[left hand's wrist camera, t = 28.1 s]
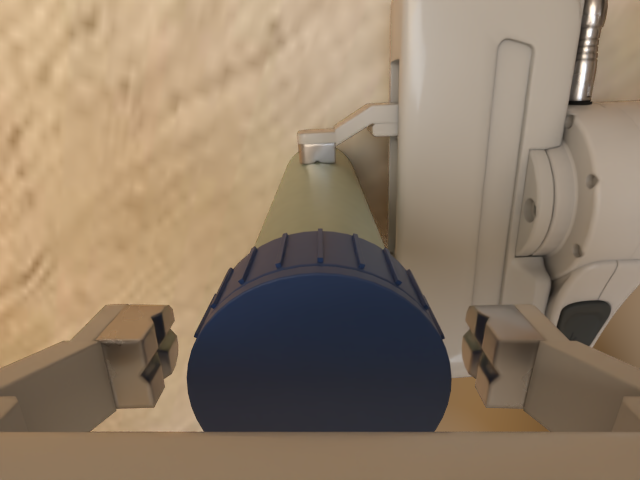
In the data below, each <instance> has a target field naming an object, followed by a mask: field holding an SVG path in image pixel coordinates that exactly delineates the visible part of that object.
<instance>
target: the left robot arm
mask: <svg viewBox="0 0 640 480" xmlns="http://www.w3.org/2000/svg"><path fill="white" fill-rule="evenodd" d="M174 321H175V320H174V314H173V309H172V308H171V307H170V306H169V305H136V304H130V305H129V304H110V305H105V306H104V307H103V308H102V309H101V310H100V311H99V312H98V313H97V314H96V315H95V316H94V317H93V318H92V319H91V320H90V321H89V322H88V323H87V324H86V325H85V326H84V327H83V328H82V329H81V330H80V331H79V332H78V333H77V334H76V335H75V336H74V337H73V338H72V339H71V341H62V342H60V343H57V344H55V345H53V346H51V347H48V348H46V349H44V350H41V351H39V352H37V353H35V354H32V355H30V356H28V357H25V358H23V359H21V360H19V361H16V362H14V363H12V364H9V365H7V366H5V367H3V368H0V480H640V369H639V368H637V367H635V366H633V365H630V364H628V363H626V362H623V361H621V360H619V359H617V358H614V357H612V356H610V355H608V354H605V353H603V352H601V351H598V350H596V349H594V348H592V347H589V346H587V345H585V344H582V343H580V342H578V341H569V340H568V339H567V338H566V336H565V335H564V334H563V333H562V332H561V331H560V330H559V329H558V328H557V327H556V326H555V325H554V324H553V323H552V322H551V321H550V320H549V319H548V318H547V317H546V316H545V315H544V314H543V313H542V312H541V311H540V310H539V309H538V308H537V307H536V306H534V305H532V304H515V305H513V304H512V305H473V306H469V308H468V310H467V313H466V319H465V321H466V323H467V324H468V326H469V328H470V329H469V330H468V331H467V332H466V333H465V334H464V335H463V340H462V359H463V362H464V366H465V368H466V370H467V372H468V374H469V375H471V376H472V377H474V378H475V379H476V384H475V388H476V390H477V391H478V393H479V395H480V397H481V399H482V401H483V403H484V405H485V407H486V408H520V409H524V411H525V412H526V413H527V414H529V415H530V416H531V417H532V418H534V419H535V420H536V421H538V422H539V423H540V424H541V425H543V426H544V427H545V428H546V429H548V430H549V431H550V432H90V431H91V430H92V429H94V428H95V427H96V426H98V425H99V424H100V423H101V422H103V421H104V420H105V419H106V418H108V417H109V416H110V415H111V414H113V413H114V412H115V411H116V409H121V408H154V407H155V405H156V403H157V401H158V399H159V397H160V395H161V393H162V391H163V389H164V388H165V384H164V379H165V378H166V377H168V376H169V375H171V374H172V372H173V370H174V368H175V366H176V362H177V357H178V339H177V335H176V334H175V333H174V332H173V331H172V330H171V329H170V328H171V326H172V324H173V323H174Z"/></svg>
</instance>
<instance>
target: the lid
mask: <svg viewBox="0 0 640 480" xmlns="http://www.w3.org/2000/svg"><path fill="white" fill-rule="evenodd" d="M194 337H195V338H197V339H196V341H195V343H194V346H193V348H192V350H191V354H190V358H189V362H188V370H187V386H188V395H189V399H190V403H191V407H192V409H193V412H194V414H195V416H196V419H197V421H198V422H199V424H200V426H201V427H202V429H203V431H204V432H434V431H435V430H436V428H437V427H438V425H439V423H440V421H441V420H442V418H443V415H444V413H445V410H446V408H447V405H448V401H449V396H450V392H451V378H452V375H451V366H450V360H449V357H448V353H447V350H446V347H445V345H444V343H443V339H445V337H444V334H443V332H442V330H441V328H440V326H439V324H438V322H437V320H436V318H435V316H434V314H433V312H432V310H431V308H430V306H429V304H428V302H427V300H426V298H425V296H424V295H423V294H422V292H421V290H420V288H419V286H418V284H417V282H416V280H415V278H414V276H413V274H412V272H411V270H410V269H408V270H406V269H405V268H404V267H403V266H402V265H401V264H400V263H399V261H398V260H396V259H395V258H394V257H393V256H392V255H391V254H390V252H389V250H388V249H387V248H384V249H382V248H380V247H378V246H377V245H375V244H373V243H371V242H369V241H366V240H364V239H362V238H359V237H358V234H355V233H353V236H352V235H349V234H344V233H338V232H332V231H323V229H322V228H318V231H308V232H300V233H295V234H290V235H288V234H287V233H284V234H283V235H282V237H280V238H277V239H274V240H272V241H270V242H268V243H266V244H264V245H262V246H260V247H259V248H256V247H253V248H252V249H251V251H250V253H249V254H248V255H247V256H246V257H245V258H244V259H243V260H241V261H240V262H239V263H238V264H237V265H236V267H235V268H234V269H232V268H230V269H229V270H228V272H227V274H226V276H225V278H224V280H223V282H222V284H221V286H220V288H219V290H218V292H217V294H215V295H214V297H213V299H212V301H211V303H210V305H209V307H208V309H207V311H206V313H205V315H204V317H203V319H202V321H201V323H200V325H199V327H198V329H197V330H196V332H195V335H194Z"/></svg>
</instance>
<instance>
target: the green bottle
mask: <svg viewBox="0 0 640 480" xmlns="http://www.w3.org/2000/svg"><path fill="white" fill-rule="evenodd" d="M335 151H336V163H328V164H324V163H320V162H318V161H316V162H315V163H314V164H307V165H306V164H300V162H299V152H298V153H297V154H295V155H294V157H293V158H292V159H291V160H290V162H289V164H288V166H287V168H286V171H285V173H284V175H283V178H282V180H281V183H280V185H279V188H278V190H277V192H276V195H275V197H274V200H273V202H272V205H271V207H270V210H269V212H268V214H267V217H266V219H265V222H264V224H263V227H262V229H261V232H260V234H259V236H258V239H257V241H256V244H255V246H254V247H256V248H259V247H260V246H262V245H264V244H266V243H268V242H270V241H272V240H274V239H277V238H280V237H282V235H283V234H284V233H287V234H288V235H290V234H295V233H300V232H308V231H318V228H322V229H323V231H332V232H338V233H344V234H349V235H352V236H353V233H355V234H358V237H359V238H362V239H364V240H366V241H369V242H371V243H373V244H375V245H377V246H378V247H380V248H382V249H384V248H385V246H384V244H383V241H382V239H381V236H380V234H379V231H378V229H377V226H376V224H375V221H374V219H373V216H372V214H371V211H370V209H369V206H368V204H367V201H366V199H365V196H364V194H363V191H362V189H361V186H360V184H359V181H358V179H357V176H356V174H355V171H354V169H353V167H352V164H351V162H350V161H349V159H348V158H347V157H346V156H345V155H344V154H343V153H342V152H341V151H339V150H337V149H336V148H335Z"/></svg>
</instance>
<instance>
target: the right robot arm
mask: <svg viewBox="0 0 640 480" xmlns="http://www.w3.org/2000/svg"><path fill="white" fill-rule="evenodd" d="M607 8H608V0H392V2H391V15H390V90H389V103H373V104H366V105H364V106H363V107H361V108H360V109H358V110H357V111H355V112H354V113H352V114H351V115H349V116H348V117H346V118H345V119H343V120H342V121H340V122H339V123H337V124H336V125H334V128H330V129H310V130H301V131H298V133H297V136H298V151H299V162H300V164H306V165H307V164H314V163H315V162H316V161H318V162H320V163H324V164H328V163H336V151H335V144H336V146H337V145H339V144H341V143H342V142H344V141H345V140H347V139H348V138H350V137H352V136H353V135H355V134H356V133H358V132H360V131H361V130H363V129H364V128H366V127H367V126H368V131H369V132H370V133H371V134H373V135H374V136H375V137H379V136H389V165H388V240H387V249H388V250H389V252H390V254H391V255H392V256H393V257H394V258H395V259H396V260H398V261H399V263H400V264H401V265H402V266H403V267H404V268H405V269H406V270H408V269H410V270H411V272H412V274H413V276H414V278H415V280H416V282H417V284H418V286H419V288H420V290H421V292H422V294H423V295H424V296H425V298H426V300H427V302H428V304H429V306H430V308H431V310H432V312H433V314H434V316H435V318H436V320H437V322H438V324H439V326H440V328H441V330H442V332H443V334H444V337H445V339H443V343H444V345H445V347H446V350H447V353H448V357H449V360H450V366H451V375H452V378H461V377H472V376H471V375H469V374H468V372H467V370H466V368H465V366H464V362H463V359H462V340H463V335H464V334H465V333H466V332H467V331H468V330H469V329H470V328H469V326H468V324H467V323H466V321H465V319H466V313H467V310H468V308H469V306H473V305H512V304H513V305H515V304H532V305H534V306H536V307H537V308H538V309H539V310H540V311H541V312H542V313H543V314H544V315H545V316H546V317H547V318H548V319H549V320H550V321H551V322H552V323H553V324H554V325H555V326H556V327H557V328H558V329H559V330H560V331H561V332H562V333H563V334H564V335H565V336H566V338H567V339H568V340H569V341H578V342H580V343H582V344H585V345H587V346H589V347H593V346H594V344H595V342H596V341H597V339H598V338H599V336H600V335H601V333H602V331H603V330H604V328H605V327H606V325H607V324H608V323H609V321H610V320H611V318H612V317H613V315H614V314H615V313H616V311H617V310H618V309H619V307H620V306H621V305H622V304H623V302H624V301H625V300H626V299H627V298H628V297H629V295H630V294H631V293H632V292H633V291H634V290H635V289H636V288H637V287H638V286H639V285H640V100H635V101H616V102H590V101H591V95H592V90H593V85H594V79H595V74H596V68H597V57H598V53H597V51H598V46H597V45H598V44H599V38H600V33H601V28H602V27H603V26H604V23H605V19H606V15H607Z"/></svg>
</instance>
